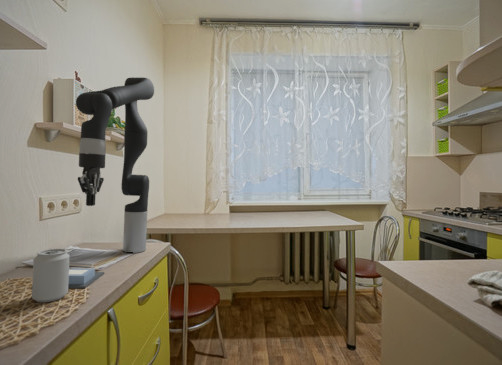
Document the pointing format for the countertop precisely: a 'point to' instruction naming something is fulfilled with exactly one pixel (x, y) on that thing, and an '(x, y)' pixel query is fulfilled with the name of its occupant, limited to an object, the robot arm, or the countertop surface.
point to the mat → (97, 275)
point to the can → (50, 275)
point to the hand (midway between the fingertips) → (90, 205)
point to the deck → (80, 275)
